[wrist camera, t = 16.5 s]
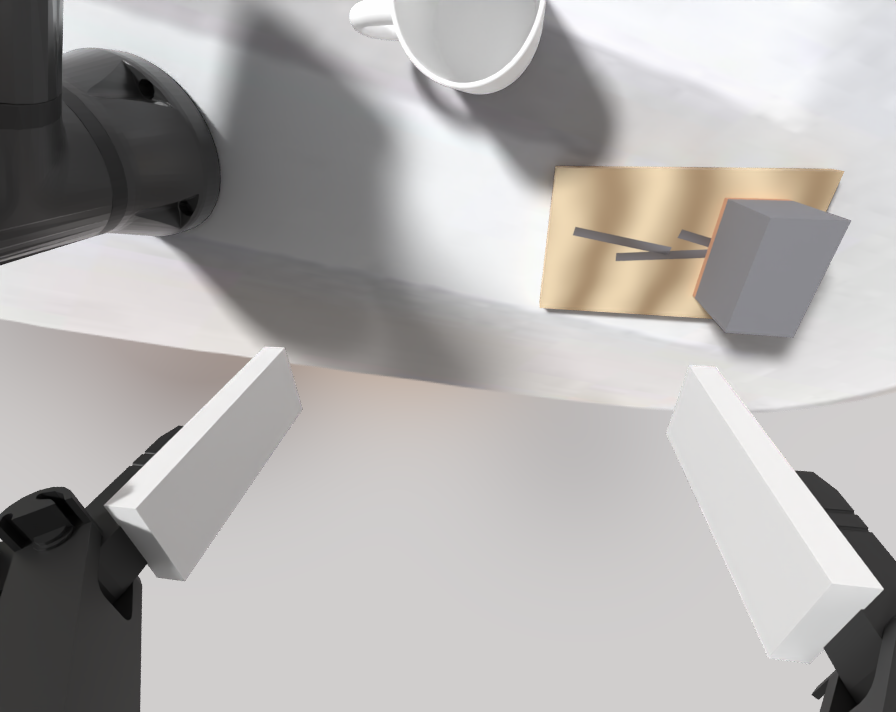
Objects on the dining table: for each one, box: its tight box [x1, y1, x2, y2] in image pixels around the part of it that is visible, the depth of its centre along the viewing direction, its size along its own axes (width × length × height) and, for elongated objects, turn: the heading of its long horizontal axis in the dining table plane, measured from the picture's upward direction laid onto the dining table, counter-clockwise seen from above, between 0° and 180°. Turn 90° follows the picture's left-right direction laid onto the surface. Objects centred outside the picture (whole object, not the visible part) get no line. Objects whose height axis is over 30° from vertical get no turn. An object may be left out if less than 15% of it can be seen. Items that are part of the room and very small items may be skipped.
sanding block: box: [692, 198, 851, 338], centre depth 30 cm, size 4×8×7 cm, turn 0°
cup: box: [350, 0, 546, 94], centre depth 26 cm, size 8×12×10 cm
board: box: [540, 166, 844, 319], centre depth 34 cm, size 20×12×2 cm, turn 91°
